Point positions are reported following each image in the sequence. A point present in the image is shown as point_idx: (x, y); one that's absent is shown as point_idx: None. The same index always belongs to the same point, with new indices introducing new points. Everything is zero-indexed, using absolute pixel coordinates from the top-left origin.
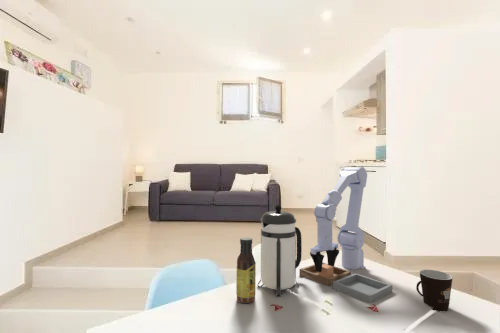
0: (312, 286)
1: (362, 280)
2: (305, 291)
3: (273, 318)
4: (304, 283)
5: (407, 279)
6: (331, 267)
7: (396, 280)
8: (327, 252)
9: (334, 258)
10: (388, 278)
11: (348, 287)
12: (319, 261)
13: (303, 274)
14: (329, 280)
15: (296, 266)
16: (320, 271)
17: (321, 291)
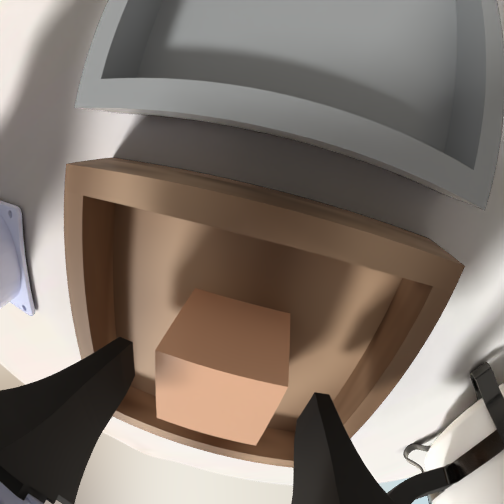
0: (435, 335)
1: (141, 28)
2: (499, 325)
3: None
4: (406, 383)
5: (5, 5)
6: (194, 359)
7: (21, 9)
8: (74, 478)
9: (66, 400)
10: (11, 40)
11: (501, 53)
12: (378, 492)
13: None
14: (446, 257)
15: (413, 484)
16: (328, 398)
17: (484, 257)
